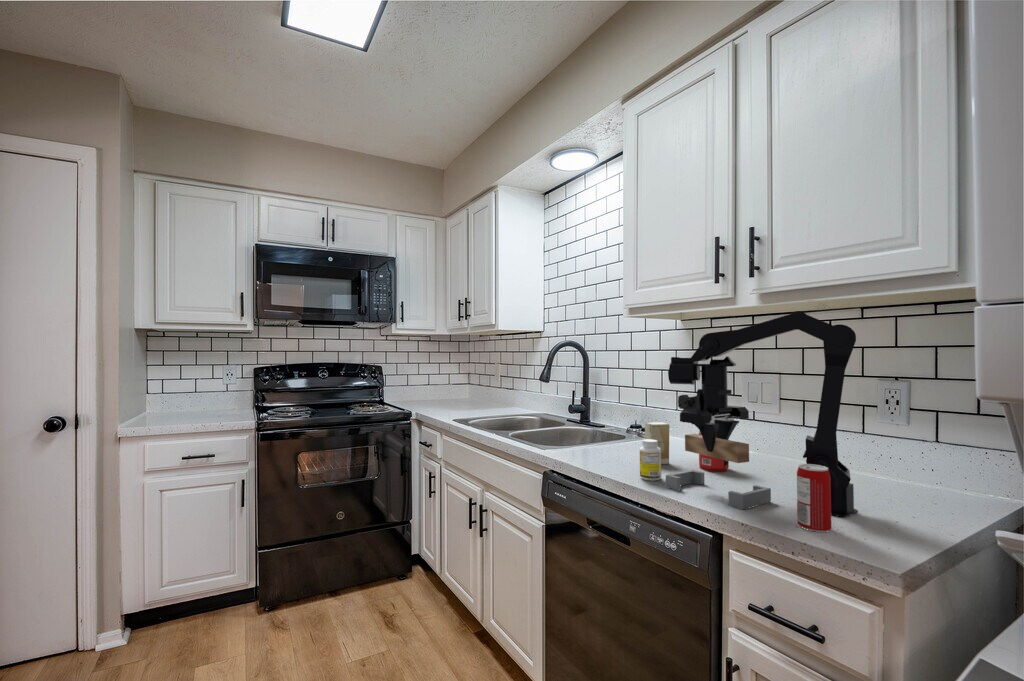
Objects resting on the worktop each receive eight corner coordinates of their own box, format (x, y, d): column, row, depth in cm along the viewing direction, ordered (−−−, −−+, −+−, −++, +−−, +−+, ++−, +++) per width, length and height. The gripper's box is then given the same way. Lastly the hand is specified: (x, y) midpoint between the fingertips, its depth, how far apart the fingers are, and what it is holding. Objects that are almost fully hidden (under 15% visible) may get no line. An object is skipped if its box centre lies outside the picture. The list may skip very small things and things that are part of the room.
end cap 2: (770, 501, 111) (770, 488, 112) (743, 509, 106) (742, 495, 106) (756, 497, 114) (756, 484, 115) (728, 505, 109) (728, 491, 109)
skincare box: (651, 465, 148) (650, 424, 148) (644, 462, 152) (643, 422, 153) (670, 464, 150) (670, 423, 150) (662, 461, 154) (662, 421, 154)
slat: (749, 461, 111) (748, 443, 111) (738, 463, 110) (737, 445, 110) (695, 449, 126) (695, 433, 126) (685, 450, 124) (684, 434, 125)
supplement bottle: (646, 475, 136) (646, 437, 137) (665, 478, 132) (664, 440, 132) (635, 478, 132) (635, 440, 133) (654, 482, 128) (653, 443, 129)
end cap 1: (665, 487, 124) (665, 475, 124) (693, 481, 129) (692, 469, 129) (677, 490, 121) (677, 478, 121) (704, 484, 126) (704, 472, 126)
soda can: (836, 529, 94) (835, 466, 94) (823, 535, 91) (822, 470, 91) (805, 521, 99) (804, 460, 99) (792, 527, 95) (791, 464, 96)
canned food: (731, 472, 139) (731, 433, 139) (701, 471, 140) (701, 432, 141) (725, 466, 146) (725, 429, 147) (697, 465, 148) (696, 428, 148)
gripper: (710, 382, 130) (710, 441, 130) (661, 385, 120) (662, 449, 120) (749, 384, 121) (750, 448, 120) (700, 387, 111) (701, 457, 110)
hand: (715, 450), depth 118 cm, fingers closed on slat, 4 cm apart
